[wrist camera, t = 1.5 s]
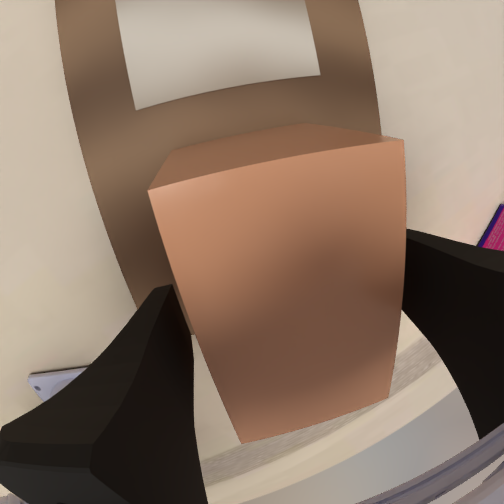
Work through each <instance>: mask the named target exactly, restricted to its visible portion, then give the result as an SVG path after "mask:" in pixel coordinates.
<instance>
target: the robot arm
mask: <svg viewBox="0 0 504 504" xmlns="http://www.w3.org/2000/svg"><path fill="white" fill-rule="evenodd" d="M402 310H403V312H404V313H405V314H406V315H407V316H408V317H409V318H410V320H411V321H412V322H413V323H414V324H415V325H416V327H417V328H418V329H419V330H420V331H421V332H422V334H423V335H424V336H425V337H426V338H427V339H428V341H429V342H430V343H431V344H432V346H433V347H434V348H435V350H436V351H437V353H438V354H439V356H440V357H441V359H442V360H443V362H444V364H445V365H446V367H447V369H448V370H449V372H450V374H451V376H452V377H453V379H454V381H455V383H456V385H457V387H458V389H459V390H460V393H461V395H462V397H463V399H464V401H465V403H466V406H467V408H468V410H469V412H470V415H471V417H472V420H473V423H474V425H475V428H476V431H477V434H478V437H479V441H477V442H476V443H474V444H473V445H471V446H470V447H468V448H467V449H465V450H464V451H462V452H460V453H459V454H457V455H456V456H454V457H452V458H451V459H449V460H447V461H445V462H444V463H442V464H440V465H439V466H437V467H435V468H433V469H431V470H429V471H428V472H425V473H424V474H422V475H420V476H418V477H416V478H414V479H412V480H410V481H408V482H406V483H404V484H401V485H399V486H397V487H395V488H393V489H390V490H388V491H386V492H384V493H381V494H379V495H377V496H374V497H372V498H369V499H367V500H364V501H362V502H359V503H356V504H427V503H430V502H431V501H433V500H435V499H437V498H439V497H440V496H442V495H444V494H446V493H447V492H449V491H451V490H452V489H454V488H455V487H457V486H459V485H460V484H462V483H464V482H465V481H467V480H468V479H470V478H471V477H472V476H474V475H475V474H477V473H479V472H480V471H481V470H483V469H484V468H486V467H487V466H488V465H490V464H491V463H493V462H494V461H495V460H497V459H498V458H499V457H501V456H502V455H503V454H504V251H501V250H495V249H489V248H483V247H478V246H474V245H470V244H466V243H461V242H457V241H453V240H450V239H446V238H442V237H438V236H435V235H431V234H427V233H423V232H419V231H415V230H411V229H406V252H405V271H404V286H403V298H402ZM28 382H29V384H30V385H31V387H32V388H33V389H34V391H35V392H36V393H37V394H38V396H39V397H40V398H41V399H42V400H43V403H42V404H40V405H39V406H37V407H36V408H34V409H33V410H31V411H29V412H28V413H26V414H24V415H22V416H20V417H19V418H17V419H15V420H13V421H12V422H10V423H8V424H6V425H4V426H2V428H1V431H0V484H2V485H3V486H4V487H5V488H7V489H8V490H9V491H10V492H12V493H13V494H11V493H9V494H8V495H7V496H3V497H0V504H208V501H207V496H206V492H205V487H204V483H203V478H202V472H201V467H200V461H199V455H198V449H197V442H196V435H195V428H194V357H193V348H192V340H191V333H190V330H189V327H188V325H187V322H186V320H185V317H184V314H183V312H182V309H181V306H180V304H179V301H178V298H177V295H176V293H175V290H174V287H173V284H169V285H165V286H161V287H156V288H154V289H153V290H152V291H151V292H150V294H149V295H148V296H147V298H146V299H145V300H144V302H143V303H142V304H141V306H140V307H139V308H138V310H137V311H136V312H135V314H134V315H133V316H132V318H131V319H130V320H129V322H128V323H127V324H126V326H125V327H124V328H123V329H122V330H121V332H120V333H119V334H118V335H117V336H116V338H115V339H114V340H113V341H112V342H111V344H110V345H109V346H108V347H107V348H106V349H105V350H104V351H103V352H102V354H101V355H100V356H99V357H98V358H97V359H96V360H95V361H94V362H93V363H92V364H91V365H90V366H89V367H86V368H79V369H72V370H65V371H57V372H49V373H41V374H32V375H29V377H28ZM14 494H15V495H14ZM453 504H504V461H503V462H502V463H501V464H500V465H499V466H498V467H497V469H496V470H495V471H493V472H492V474H490V475H489V476H488V477H487V478H486V479H485V480H484V481H483V482H482V484H481V485H480V486H478V487H477V488H475V489H474V490H472V491H471V492H469V493H468V494H466V495H465V496H464V497H462V498H460V499H459V500H457V501H456V502H454V503H453Z"/></svg>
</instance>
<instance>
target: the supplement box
mask: <svg viewBox="0 0 504 504" xmlns="http://www.w3.org/2000/svg"><path fill="white" fill-rule="evenodd" d="M477 246H478V247H483V248H489V249H495V250H501V251H504V205H503V204H501V205H500V206H499V208H498V210H497V212H496V214H495V216H494V218H493V219H492V221H491V223H490V225H489V227H488V228H487V230H486V232H485V234H484V235H483V237H482V239H481V241H480V242H479V244H478V245H477Z"/></svg>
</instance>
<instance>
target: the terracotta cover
mask: <svg viewBox="0 0 504 504" xmlns="http://www.w3.org/2000/svg"><path fill="white" fill-rule="evenodd" d="M147 191H148V194H149V198H150V201H151V205H152V208H153V211H154V215H155V218H156V221H157V225H158V228H159V231H160V234H161V237H162V241H163V244H164V247H165V250H166V253H167V256H168V259H169V262H170V265H171V268H172V271H173V274H174V277H175V280H176V283H177V286H178V289H179V292H180V294H181V297H182V300H183V303H184V306H185V308H186V311H187V314H188V317H189V319H190V322H191V325H192V327H193V330H194V333H195V335H196V338H197V340H198V343H199V346H200V348H201V351H202V353H203V356H204V358H205V361H206V363H207V366H208V368H209V371H210V373H211V376H212V378H213V380H214V383H215V385H216V388H217V390H218V392H219V395H220V397H221V399H222V402H223V404H224V406H225V409H226V411H227V413H228V415H229V418H230V420H231V422H232V424H233V427H234V429H235V431H236V433H237V435H238V438H239V440H240V442H241V444H243V443H248V442H252V441H257V440H261V439H265V438H269V437H273V436H277V435H281V434H284V433H288V432H292V431H295V430H299V429H302V428H305V427H309V426H312V425H315V424H318V423H321V422H325V421H328V420H331V419H333V418H336V417H339V416H342V415H345V414H348V413H351V412H353V411H356V410H359V409H361V408H364V407H366V406H369V405H372V404H374V403H376V402H379V401H381V400H384V399H386V398H388V396H389V391H390V386H391V380H392V375H393V369H394V363H395V356H396V349H397V342H398V335H399V327H400V318H401V309H402V298H403V286H404V271H405V252H406V175H405V156H404V141H403V140H402V139H397V138H392V137H388V136H383V135H378V134H373V133H367V132H362V131H356V130H350V129H344V128H338V127H331V126H324V125H317V124H310V123H301V124H294V125H288V126H282V127H276V128H271V129H265V130H260V131H254V132H249V133H244V134H239V135H235V136H230V137H225V138H221V139H216V140H212V141H207V142H203V143H199V144H195V145H191V146H187V147H183V148H179V149H175V150H171V152H170V154H169V155H168V157H167V159H166V160H165V162H164V163H163V165H162V167H161V168H160V170H159V172H158V173H157V175H156V177H155V178H154V180H153V182H152V184H151V185H150V187H149V189H148V190H147Z"/></svg>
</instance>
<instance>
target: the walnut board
mask: <svg viewBox="0 0 504 504" xmlns="http://www.w3.org/2000/svg"><path fill="white" fill-rule="evenodd" d="M55 7H56V17H57V27H58V35H59V42H60V49H61V56H62V62H63V68H64V74H65V80H66V85H67V90H68V95H69V100H70V105H71V109H72V114H73V118H74V122H75V127H76V131H77V135H78V139H79V143H80V147H81V150H82V154H83V158H84V161H85V165H86V168H87V172H88V175H89V179H90V182H91V185H92V189H93V192H94V195H95V198H96V201H97V204H98V207H99V210H100V213H101V216H102V219H103V222H104V225H105V228H106V231H107V234H108V236H109V239H110V242H111V245H112V247H113V250H114V253H115V255H116V258H117V261H118V263H119V266H120V268H121V271H122V273H123V276H124V278H125V281H126V283H127V286H128V288H129V290H130V293H131V295H132V298H133V300H134V302H135V304H136V307H137V309H138V308H139V307H140V306H141V304H142V303H143V302H144V300H145V299H146V298H147V296H148V295H149V294H150V292H151V291H152V290H153V289H154V288H156V287H161V286H165V285H169V284H173V287H174V290H175V293H176V295H177V298H178V301H179V304H180V306H181V309H182V312H183V314H184V317H185V320H186V322H187V325H188V327H189V330H190V333H191V335H194V334H195V333H194V330H193V327H192V325H191V322H190V319H189V317H188V314H187V311H186V308H185V306H184V303H183V300H182V297H181V294H180V292H179V289H178V286H177V283H176V280H175V277H174V274H173V271H172V268H171V265H170V262H169V259H168V256H167V253H166V250H165V247H164V244H163V241H162V237H161V234H160V231H159V228H158V225H157V221H156V218H155V215H154V211H153V208H152V205H151V201H150V198H149V194H148V191H147V190H148V189H149V187H150V185H151V184H152V182H153V180H154V178H155V177H156V175H157V173H158V172H159V170H160V168H161V167H162V165H163V163H164V162H165V160H166V159H167V157H168V155H169V154H170V152H171V150H175V149H179V148H183V147H187V146H191V145H195V144H199V143H203V142H207V141H212V140H216V139H221V138H225V137H230V136H235V135H239V134H244V133H249V132H254V131H260V130H265V129H271V128H276V127H282V126H288V125H294V124H301V123H310V124H317V125H324V126H331V127H338V128H344V129H350V130H356V131H362V132H367V133H373V134H378V135H381V126H380V117H379V109H378V102H377V94H376V87H375V81H374V75H373V69H372V63H371V58H370V52H369V47H368V42H367V37H366V32H365V28H364V23H363V19H362V15H361V11H360V7H359V3H358V0H55Z"/></svg>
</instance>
